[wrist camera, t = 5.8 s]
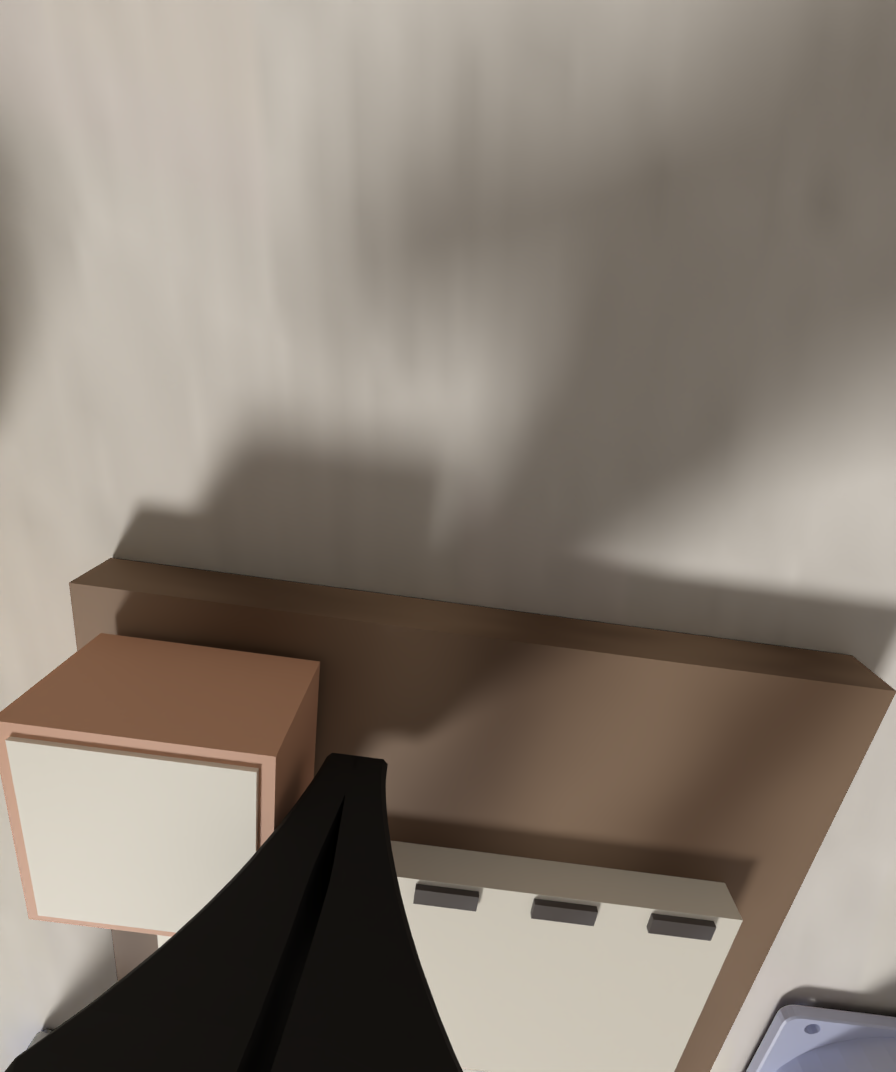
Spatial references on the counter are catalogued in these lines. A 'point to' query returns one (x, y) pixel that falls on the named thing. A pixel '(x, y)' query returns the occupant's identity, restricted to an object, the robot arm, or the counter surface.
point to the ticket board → (552, 799)
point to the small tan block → (151, 776)
